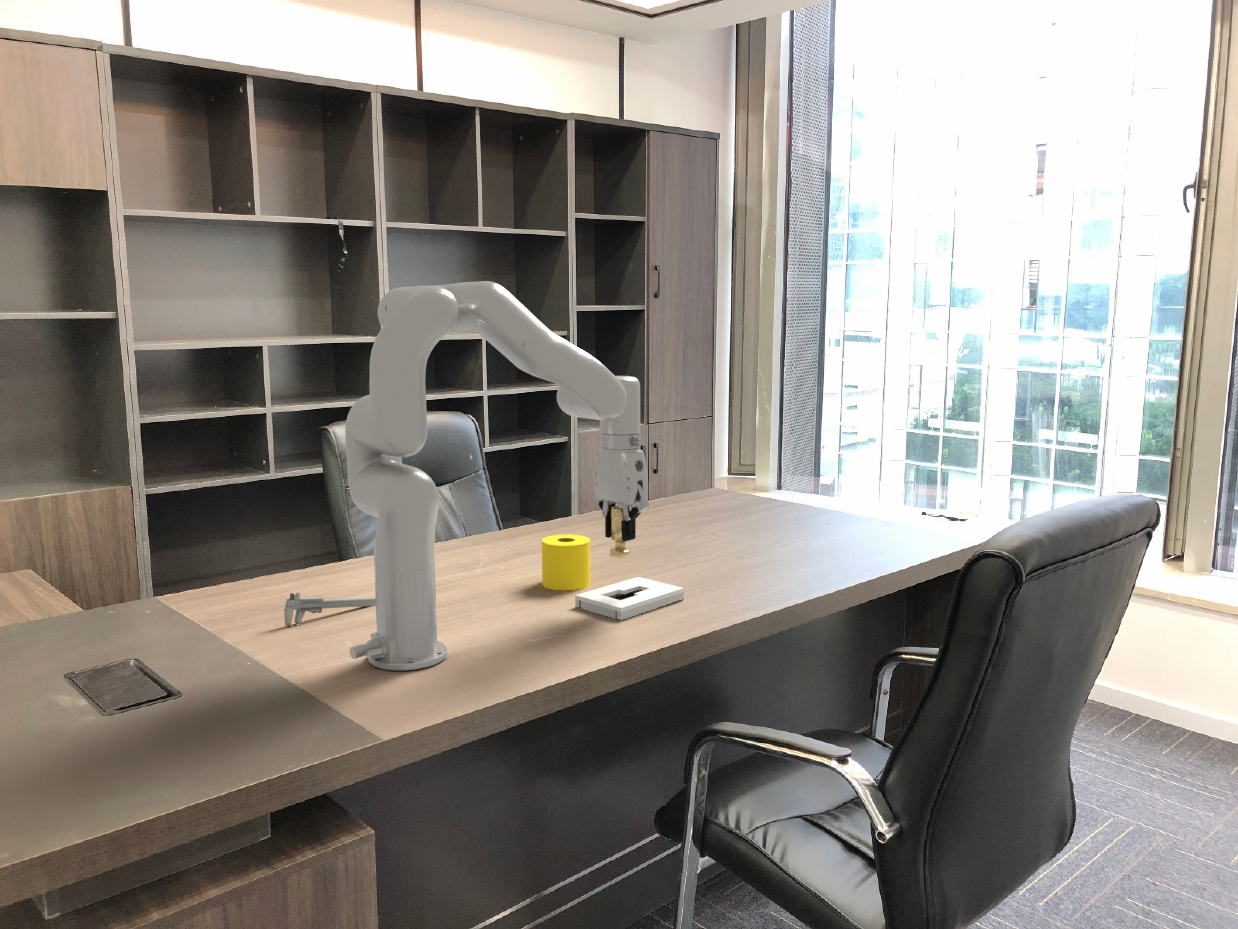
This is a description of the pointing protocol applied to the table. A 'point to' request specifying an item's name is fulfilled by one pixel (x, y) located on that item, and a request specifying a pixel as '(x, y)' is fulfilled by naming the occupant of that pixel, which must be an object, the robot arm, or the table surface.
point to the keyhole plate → (640, 603)
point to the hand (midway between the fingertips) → (620, 537)
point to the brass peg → (618, 533)
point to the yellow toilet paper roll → (565, 562)
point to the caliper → (319, 605)
